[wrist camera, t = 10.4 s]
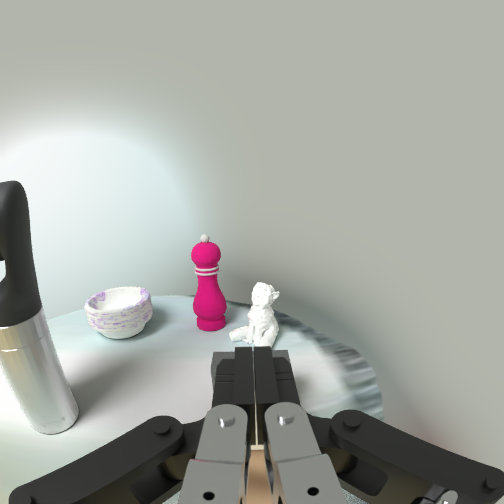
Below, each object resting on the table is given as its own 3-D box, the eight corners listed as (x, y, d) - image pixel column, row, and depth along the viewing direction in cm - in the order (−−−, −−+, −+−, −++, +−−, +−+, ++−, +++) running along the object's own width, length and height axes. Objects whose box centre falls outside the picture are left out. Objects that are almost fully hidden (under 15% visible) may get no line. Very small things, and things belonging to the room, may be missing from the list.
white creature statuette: (227, 340, 57) (223, 283, 54) (256, 325, 63) (254, 272, 60) (263, 357, 51) (263, 296, 48) (291, 338, 57) (293, 282, 54)
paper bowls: (96, 318, 65) (90, 288, 63) (154, 312, 69) (150, 282, 68) (86, 349, 51) (76, 314, 49) (156, 342, 55) (150, 307, 53)
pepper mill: (225, 333, 60) (219, 237, 55) (191, 331, 60) (182, 238, 55) (229, 317, 67) (225, 231, 62) (199, 317, 67) (191, 231, 62)
